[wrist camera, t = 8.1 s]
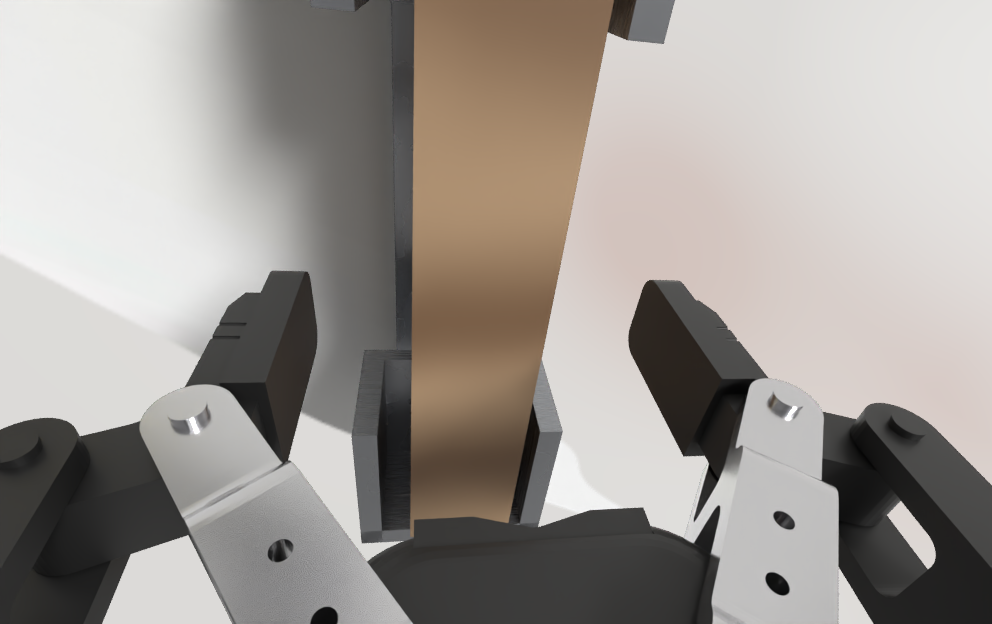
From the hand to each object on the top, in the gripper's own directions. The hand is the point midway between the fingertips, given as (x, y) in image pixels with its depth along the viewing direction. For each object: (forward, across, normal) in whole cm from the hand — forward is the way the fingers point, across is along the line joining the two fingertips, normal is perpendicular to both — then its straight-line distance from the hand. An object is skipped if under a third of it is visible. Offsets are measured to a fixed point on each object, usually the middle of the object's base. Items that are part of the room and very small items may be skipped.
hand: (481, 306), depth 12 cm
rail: (+5, 0, 0) cm, 5 cm away
